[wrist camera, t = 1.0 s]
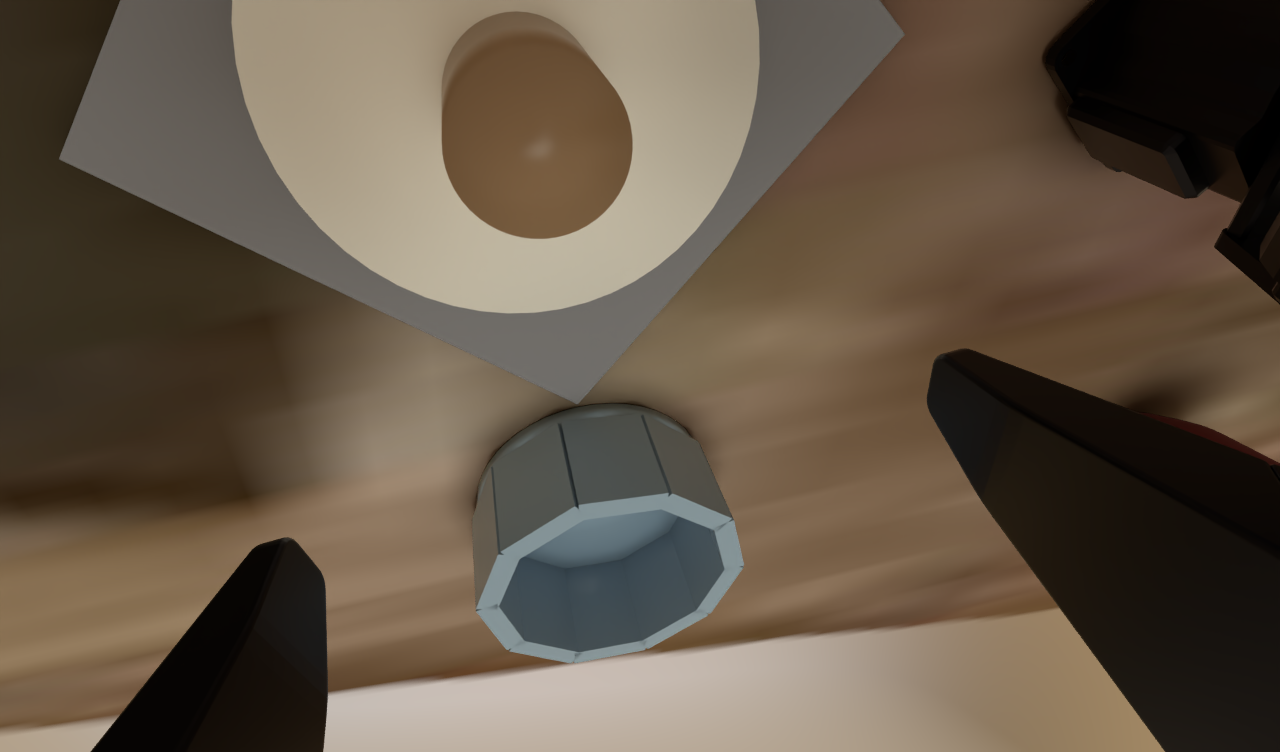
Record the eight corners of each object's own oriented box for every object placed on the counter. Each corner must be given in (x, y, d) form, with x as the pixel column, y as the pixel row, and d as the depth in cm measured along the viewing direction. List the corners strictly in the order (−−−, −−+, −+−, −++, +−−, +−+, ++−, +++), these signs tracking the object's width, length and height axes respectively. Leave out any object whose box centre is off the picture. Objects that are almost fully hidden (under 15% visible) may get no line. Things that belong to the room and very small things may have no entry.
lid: (418, -454, 11) (407, -605, 8) (837, 43, 18) (934, 88, 15) (152, 145, 16) (66, 228, 12) (569, 359, 23) (593, 452, 19)
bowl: (564, 363, 24) (588, 457, 20) (747, 456, 29) (793, 544, 26) (426, 527, 27) (423, 634, 24) (613, 582, 33) (635, 676, 29)
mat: (382, -645, 11) (378, -668, 10) (894, 30, 19) (905, 34, 19) (69, 151, 16) (59, 159, 16) (575, 394, 25) (577, 404, 24)
